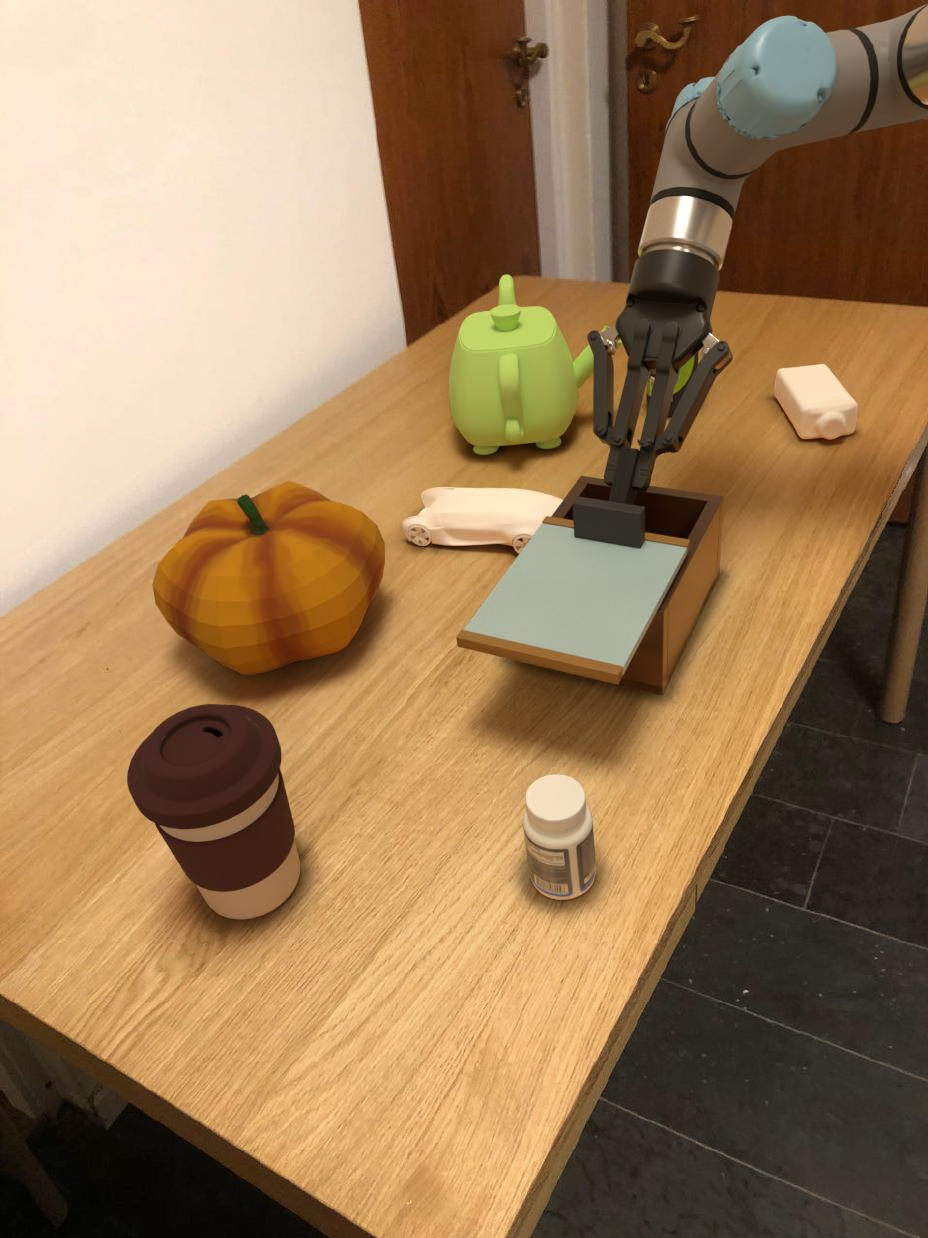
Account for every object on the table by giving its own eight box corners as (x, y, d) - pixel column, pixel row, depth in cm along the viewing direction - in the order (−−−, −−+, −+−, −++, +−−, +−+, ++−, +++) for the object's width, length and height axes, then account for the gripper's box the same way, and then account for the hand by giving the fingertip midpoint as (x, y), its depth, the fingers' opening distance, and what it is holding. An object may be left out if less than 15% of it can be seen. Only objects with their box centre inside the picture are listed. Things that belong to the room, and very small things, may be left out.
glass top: (690, 548, 81) (691, 505, 79) (618, 685, 69) (617, 639, 67) (546, 524, 87) (543, 483, 84) (457, 646, 75) (450, 603, 72)
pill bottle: (575, 837, 71) (569, 759, 66) (608, 884, 67) (605, 806, 62) (517, 863, 70) (507, 785, 64) (548, 912, 66) (539, 834, 61)
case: (719, 575, 93) (724, 495, 88) (662, 695, 81) (663, 612, 76) (584, 551, 99) (580, 475, 94) (512, 659, 87) (503, 580, 82)
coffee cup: (202, 962, 66) (129, 821, 57) (175, 859, 74) (108, 720, 64) (336, 903, 69) (288, 758, 59) (298, 809, 76) (250, 668, 67)
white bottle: (802, 448, 110) (806, 415, 107) (772, 399, 120) (775, 367, 117) (860, 442, 110) (865, 408, 107) (825, 393, 120) (829, 361, 117)
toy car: (400, 544, 104) (393, 509, 101) (426, 506, 110) (420, 472, 107) (560, 561, 98) (558, 524, 95) (579, 520, 104) (577, 484, 101)
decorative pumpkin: (145, 697, 89) (87, 566, 80) (240, 560, 106) (201, 438, 96) (349, 714, 84) (312, 576, 75) (415, 567, 100) (392, 439, 91)
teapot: (634, 463, 112) (633, 332, 102) (451, 479, 114) (433, 353, 104) (612, 372, 131) (610, 255, 122) (456, 388, 133) (441, 274, 123)
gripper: (758, 288, 85) (697, 545, 84) (618, 280, 91) (560, 521, 90) (747, 247, 78) (680, 526, 77) (596, 241, 84) (533, 502, 83)
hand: (616, 523), depth 84 cm, fingers closed
